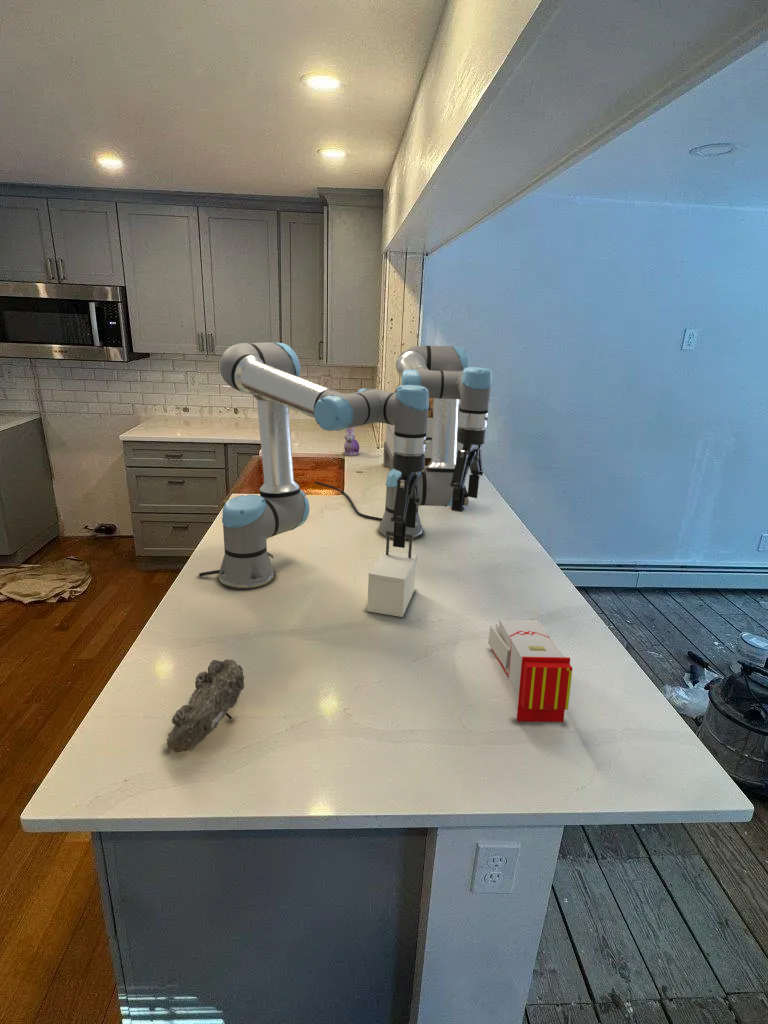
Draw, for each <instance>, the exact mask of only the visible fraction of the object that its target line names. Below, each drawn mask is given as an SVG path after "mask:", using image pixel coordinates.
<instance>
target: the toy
mask: <svg viewBox="0 0 768 1024" xmlns="http://www.w3.org/2000/svg"><path fill="white" fill-rule="evenodd" d="M488 646H490V648H491V651H492V653H493V655H494V656H495V658H496V660H497V661H498V663H499V665H500V666H501V668H502V670H503V672H504V673H505V676H506V678H508V681H509V683H510V685H511V687H512V689H513V692H514V694H515V695H516V697H517V708H516V709H517V710H516V722H519V723H520V722H521V723H522V722H523V723H525V722H526V723H564V720H565V712H566V710H569V704H570V703H569V702H570V695H571V685H572V677H573V667H572V665H571V658H570V657H568V656H567V657H566V656H564V654H563V653H562V652H561V650H560V649H559V648H558V646H557V645H556V644H555V642H554V641H553V640H552V638H551V637H550V636H549V634H548V633H547V631H546V630H545V629H544V626H543V625H541V624H540V622H539V620H536V619H535V620H531V619H528V620H527V619H499V620H498V622H495V626H494V625H490V627H489V635H488Z"/></svg>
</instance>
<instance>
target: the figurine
mask: <svg viewBox="0 0 768 1024" xmlns="http://www.w3.org/2000/svg"><path fill="white" fill-rule="evenodd" d="M354 431H355V427H351V428H346V429H345V434H344V440H345V442H344V443H343V444H344V445H343V448H344V451H343V454H344V456H356V455H359V453H360V444H359V442H358V441H357V440H356V435H355V433H354Z"/></svg>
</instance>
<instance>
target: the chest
mask: <svg viewBox="0 0 768 1024" xmlns="http://www.w3.org/2000/svg"><path fill="white" fill-rule="evenodd" d="M416 569H417V560H416V561H415V563H414V565H413V567H412V569H411V571H410V573H409V575H408V577H407V579H406V581H405V583H402V582H395V581H389V580H382V579H376V578H369V577H368V582H367V587H368V588H367V608H366V610H367V612H370V613H376V614H382V615H388V616H395V617H400V618H403V617H404V615H405V612H406V610H407V608H408V607H409V604H410V602H411V599H412V598H413V595H414V592H415V586H416V573H417V572H416Z"/></svg>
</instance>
